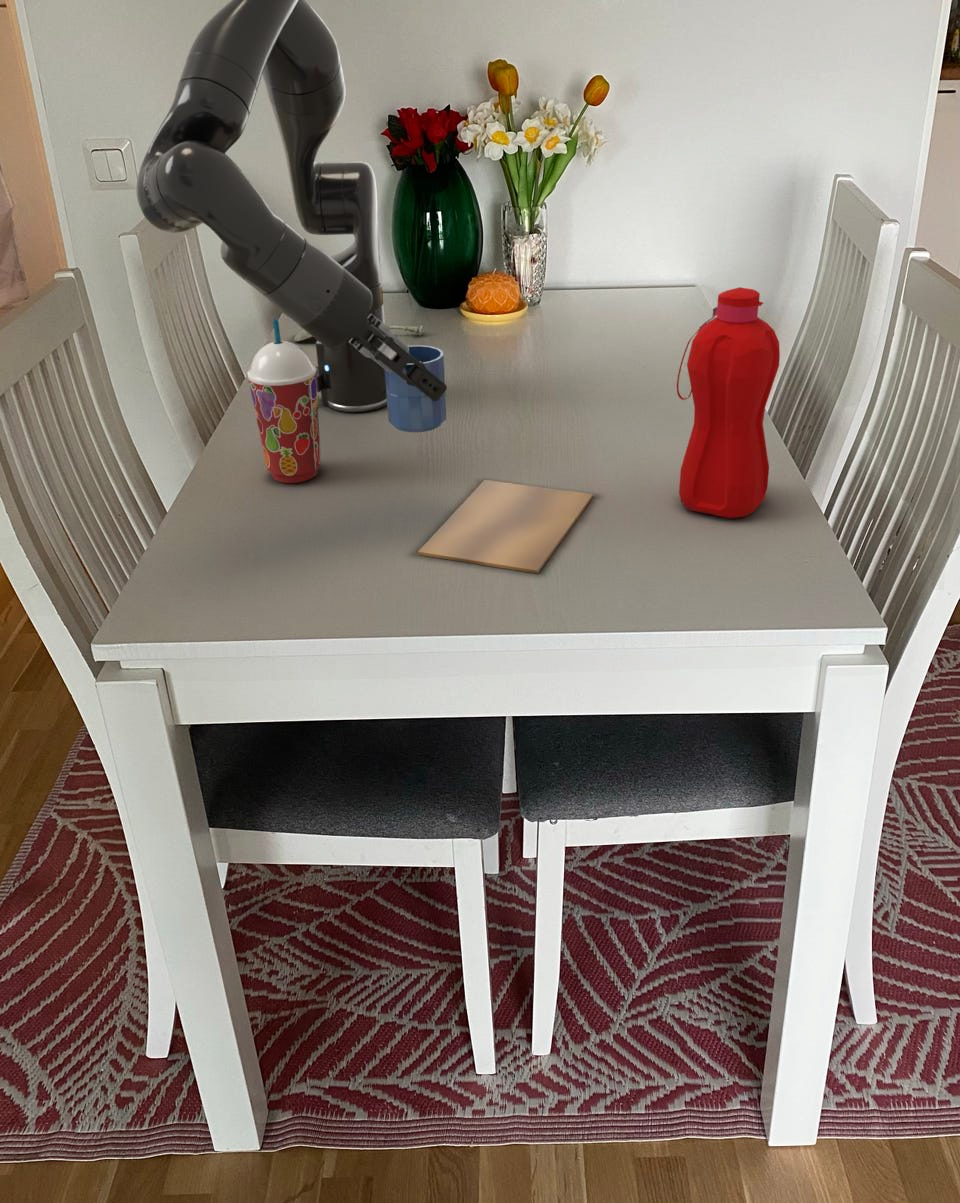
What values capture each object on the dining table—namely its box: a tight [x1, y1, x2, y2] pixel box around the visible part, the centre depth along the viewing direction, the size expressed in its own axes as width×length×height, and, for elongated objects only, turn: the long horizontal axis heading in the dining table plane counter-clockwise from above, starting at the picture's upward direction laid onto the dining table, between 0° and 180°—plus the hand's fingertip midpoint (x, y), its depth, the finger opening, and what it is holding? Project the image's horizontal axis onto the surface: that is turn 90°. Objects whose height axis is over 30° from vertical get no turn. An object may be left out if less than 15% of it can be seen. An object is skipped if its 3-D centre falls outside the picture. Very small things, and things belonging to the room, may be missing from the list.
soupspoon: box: [293, 325, 423, 342], centre depth 195 cm, size 22×3×7 cm
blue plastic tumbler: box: [385, 344, 447, 433], centre depth 128 cm, size 6×6×8 cm
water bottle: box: [676, 286, 781, 520], centre depth 129 cm, size 9×11×25 cm
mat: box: [417, 479, 594, 574], centre depth 132 cm, size 14×20×1 cm
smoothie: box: [246, 318, 322, 484], centre depth 141 cm, size 8×8×20 cm
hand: (429, 383), depth 128 cm, fingers closed on blue plastic tumbler, 6 cm apart
